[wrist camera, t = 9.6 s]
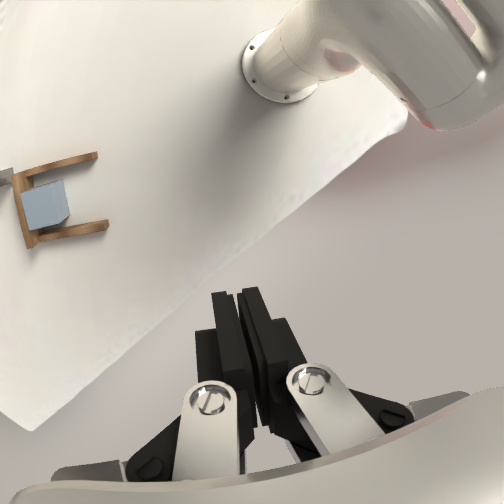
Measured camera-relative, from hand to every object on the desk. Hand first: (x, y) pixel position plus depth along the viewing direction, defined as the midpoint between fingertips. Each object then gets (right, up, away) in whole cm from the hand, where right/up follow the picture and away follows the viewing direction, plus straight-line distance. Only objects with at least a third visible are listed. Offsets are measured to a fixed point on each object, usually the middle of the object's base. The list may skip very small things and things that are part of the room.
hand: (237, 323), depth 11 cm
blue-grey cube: (-32, +11, +30) cm, 45 cm away
